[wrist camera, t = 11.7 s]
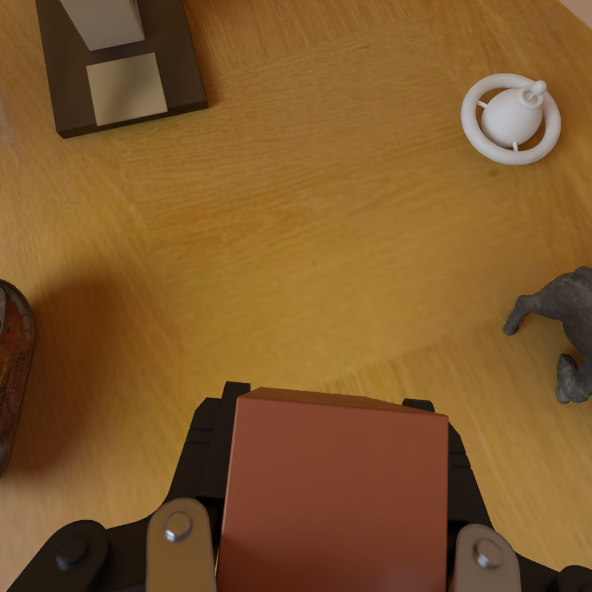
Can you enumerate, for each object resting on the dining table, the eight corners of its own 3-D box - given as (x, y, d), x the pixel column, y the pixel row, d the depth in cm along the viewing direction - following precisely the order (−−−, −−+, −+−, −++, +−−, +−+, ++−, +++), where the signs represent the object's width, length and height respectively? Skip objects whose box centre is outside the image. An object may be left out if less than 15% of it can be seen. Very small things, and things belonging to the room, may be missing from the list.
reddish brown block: (359, 511, 16) (449, 664, 8) (246, 500, 16) (204, 644, 8) (366, 396, 17) (452, 415, 9) (258, 386, 17) (234, 395, 9)
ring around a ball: (446, 90, 34) (457, 176, 32) (480, 33, 28) (495, 134, 27) (536, 91, 34) (551, 176, 33) (587, 36, 29) (608, 135, 27)
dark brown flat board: (63, 142, 32) (56, 134, 31) (34, -36, 36) (26, -49, 35) (209, 111, 33) (206, 102, 32) (166, -60, 37) (163, -74, 36)
